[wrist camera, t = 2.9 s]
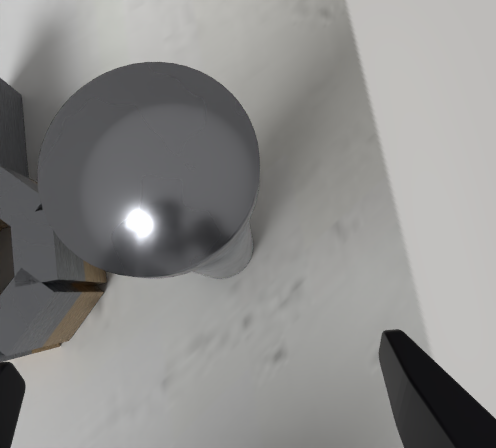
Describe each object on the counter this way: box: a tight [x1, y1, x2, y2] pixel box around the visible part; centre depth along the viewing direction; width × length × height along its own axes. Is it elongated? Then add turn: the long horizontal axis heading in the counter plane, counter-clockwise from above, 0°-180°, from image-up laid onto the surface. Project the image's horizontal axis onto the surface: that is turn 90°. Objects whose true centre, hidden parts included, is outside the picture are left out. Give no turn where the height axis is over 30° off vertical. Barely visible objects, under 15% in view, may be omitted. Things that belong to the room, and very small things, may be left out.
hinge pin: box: [37, 62, 260, 279], centre depth 14 cm, size 4×4×13 cm
